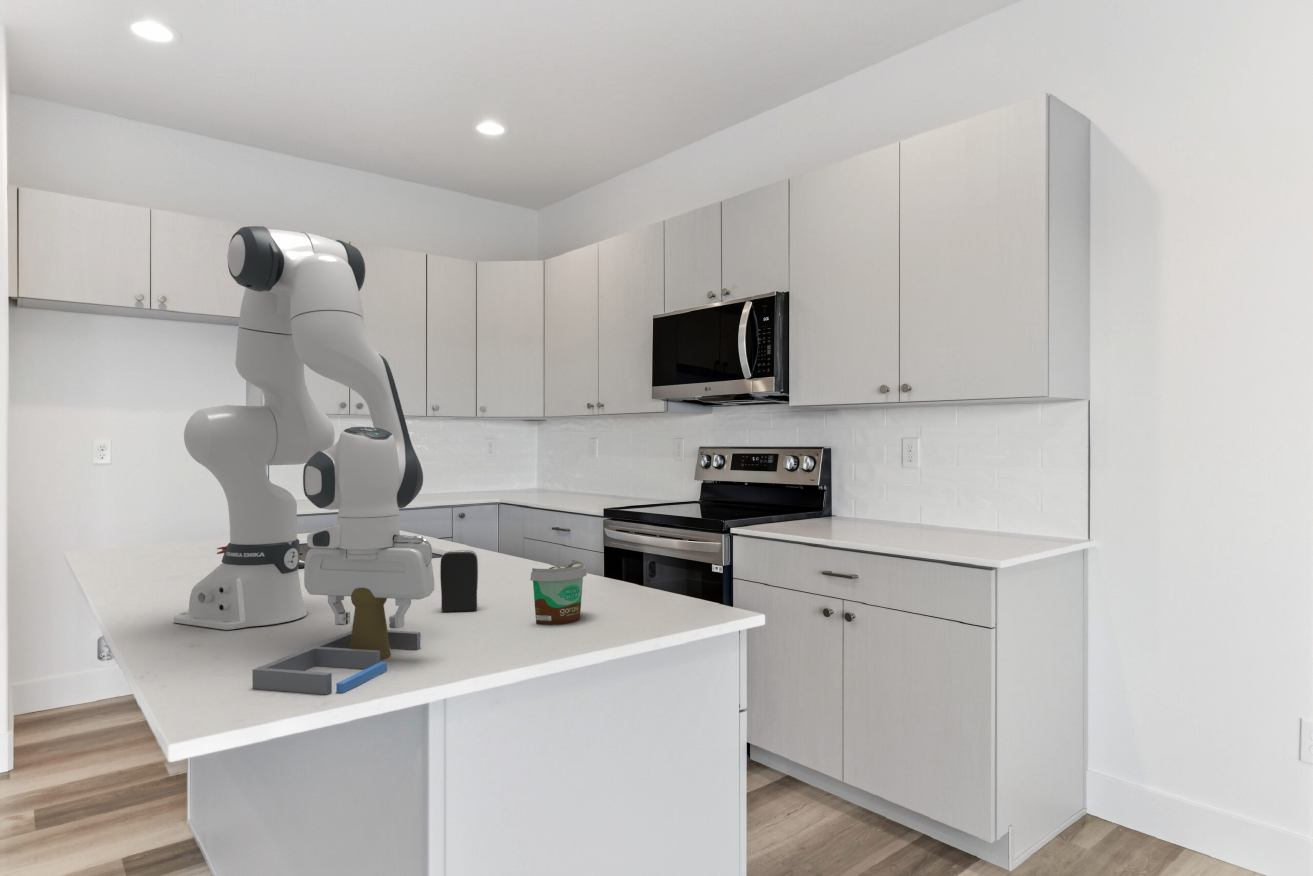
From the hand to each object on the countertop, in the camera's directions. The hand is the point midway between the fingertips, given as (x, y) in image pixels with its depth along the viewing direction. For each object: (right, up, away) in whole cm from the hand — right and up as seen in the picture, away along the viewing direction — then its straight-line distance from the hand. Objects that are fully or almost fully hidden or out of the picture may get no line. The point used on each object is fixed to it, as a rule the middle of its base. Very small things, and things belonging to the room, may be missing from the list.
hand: (369, 626), depth 120 cm
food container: (+27, -5, +23) cm, 36 cm away
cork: (0, -5, 0) cm, 5 cm away
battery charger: (+6, -5, +32) cm, 33 cm away
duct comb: (-1, -5, -5) cm, 7 cm away
